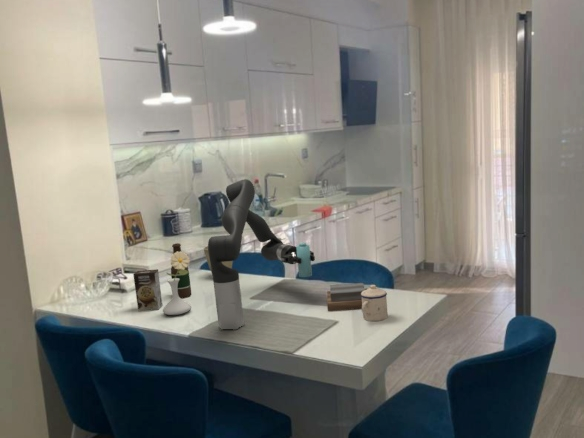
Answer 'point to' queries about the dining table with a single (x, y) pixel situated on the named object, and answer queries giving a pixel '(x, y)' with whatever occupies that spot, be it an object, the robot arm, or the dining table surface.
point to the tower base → (343, 304)
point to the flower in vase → (176, 302)
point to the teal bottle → (304, 260)
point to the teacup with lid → (374, 304)
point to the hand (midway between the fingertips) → (307, 259)
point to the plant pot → (227, 263)
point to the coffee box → (148, 290)
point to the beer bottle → (181, 277)
